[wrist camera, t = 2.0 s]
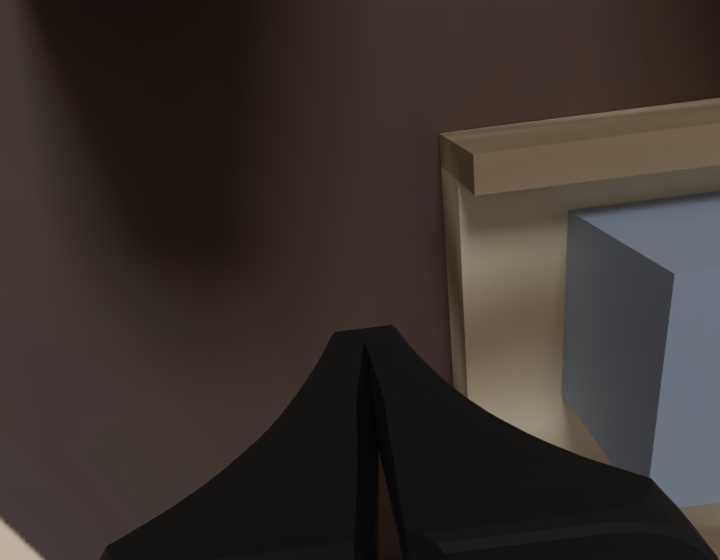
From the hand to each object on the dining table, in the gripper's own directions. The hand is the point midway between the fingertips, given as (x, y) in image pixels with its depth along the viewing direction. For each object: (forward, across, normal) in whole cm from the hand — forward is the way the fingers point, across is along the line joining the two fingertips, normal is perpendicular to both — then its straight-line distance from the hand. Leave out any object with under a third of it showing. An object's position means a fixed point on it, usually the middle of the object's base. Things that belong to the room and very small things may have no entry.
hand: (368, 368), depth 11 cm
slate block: (+2, -8, 0) cm, 8 cm away
